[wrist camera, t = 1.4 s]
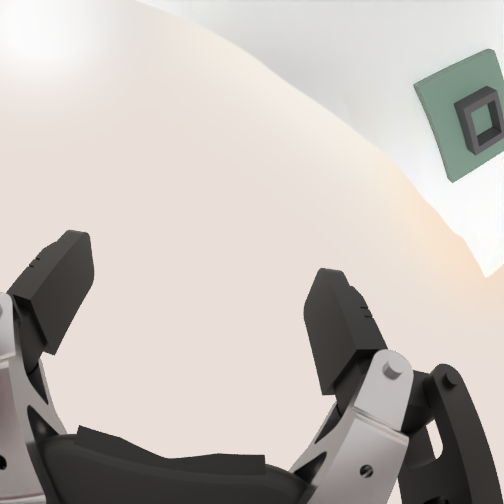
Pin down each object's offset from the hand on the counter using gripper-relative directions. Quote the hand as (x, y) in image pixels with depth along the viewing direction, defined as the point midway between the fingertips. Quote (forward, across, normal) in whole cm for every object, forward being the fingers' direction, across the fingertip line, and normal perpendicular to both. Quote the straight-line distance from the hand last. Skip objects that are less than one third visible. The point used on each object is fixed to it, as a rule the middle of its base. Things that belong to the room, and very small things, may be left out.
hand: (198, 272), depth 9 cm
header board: (+26, -35, -16) cm, 46 cm away
